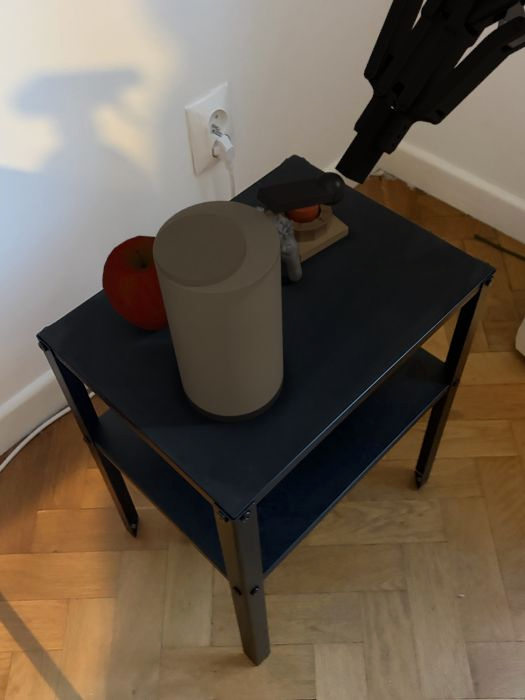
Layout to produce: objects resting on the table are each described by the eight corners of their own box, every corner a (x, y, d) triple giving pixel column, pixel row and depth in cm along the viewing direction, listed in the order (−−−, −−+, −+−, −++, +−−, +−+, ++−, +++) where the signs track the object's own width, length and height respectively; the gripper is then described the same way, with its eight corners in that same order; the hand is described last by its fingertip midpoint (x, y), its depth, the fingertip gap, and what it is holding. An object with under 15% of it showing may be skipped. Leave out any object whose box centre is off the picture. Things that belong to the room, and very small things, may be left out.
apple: (179, 280, 80) (165, 206, 72) (210, 334, 76) (199, 262, 67) (105, 308, 78) (82, 236, 70) (133, 365, 74) (111, 296, 65)
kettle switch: (346, 209, 63) (356, 180, 61) (272, 225, 58) (282, 194, 56) (325, 192, 64) (335, 163, 62) (251, 206, 59) (260, 176, 57)
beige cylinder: (303, 385, 72) (306, 243, 56) (220, 441, 68) (198, 307, 52) (244, 323, 76) (230, 176, 60) (163, 372, 73) (127, 230, 57)
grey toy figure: (316, 269, 80) (318, 218, 74) (242, 335, 76) (238, 286, 69) (255, 231, 84) (251, 179, 78) (180, 291, 79) (171, 241, 73)
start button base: (348, 234, 84) (349, 215, 81) (300, 263, 81) (300, 244, 79) (304, 197, 87) (304, 178, 85) (257, 223, 85) (256, 204, 83)
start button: (325, 213, 82) (325, 202, 80) (300, 228, 81) (300, 216, 79) (304, 197, 84) (305, 185, 82) (280, 210, 82) (279, 199, 81)
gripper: (615, -41, 53) (421, 226, 62) (482, -102, 60) (323, 148, 68) (590, -93, 47) (379, 210, 56) (445, -155, 54) (276, 127, 62)
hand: (348, 176), depth 62 cm, fingers closed
